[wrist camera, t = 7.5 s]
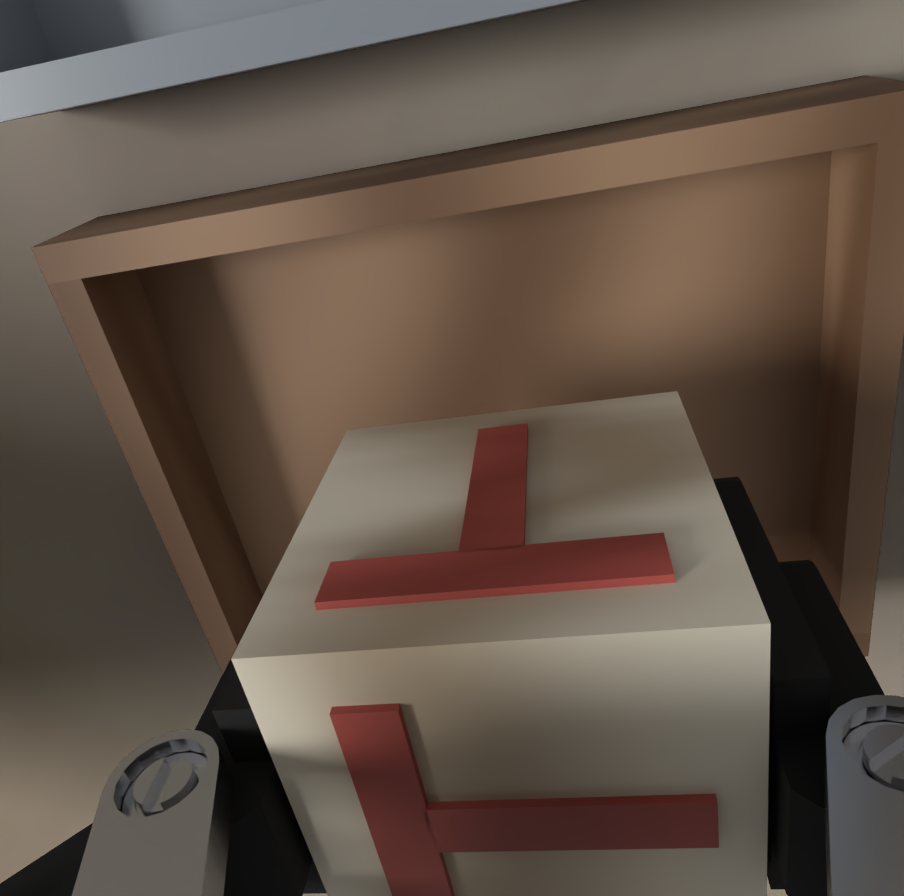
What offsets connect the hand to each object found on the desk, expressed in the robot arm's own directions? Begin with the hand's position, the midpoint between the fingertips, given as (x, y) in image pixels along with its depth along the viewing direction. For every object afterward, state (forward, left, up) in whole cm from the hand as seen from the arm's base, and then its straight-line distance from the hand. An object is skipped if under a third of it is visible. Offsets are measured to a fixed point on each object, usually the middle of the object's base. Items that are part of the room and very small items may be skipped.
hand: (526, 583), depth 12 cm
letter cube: (0, 0, -1) cm, 1 cm away
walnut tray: (0, -1, -5) cm, 5 cm away
